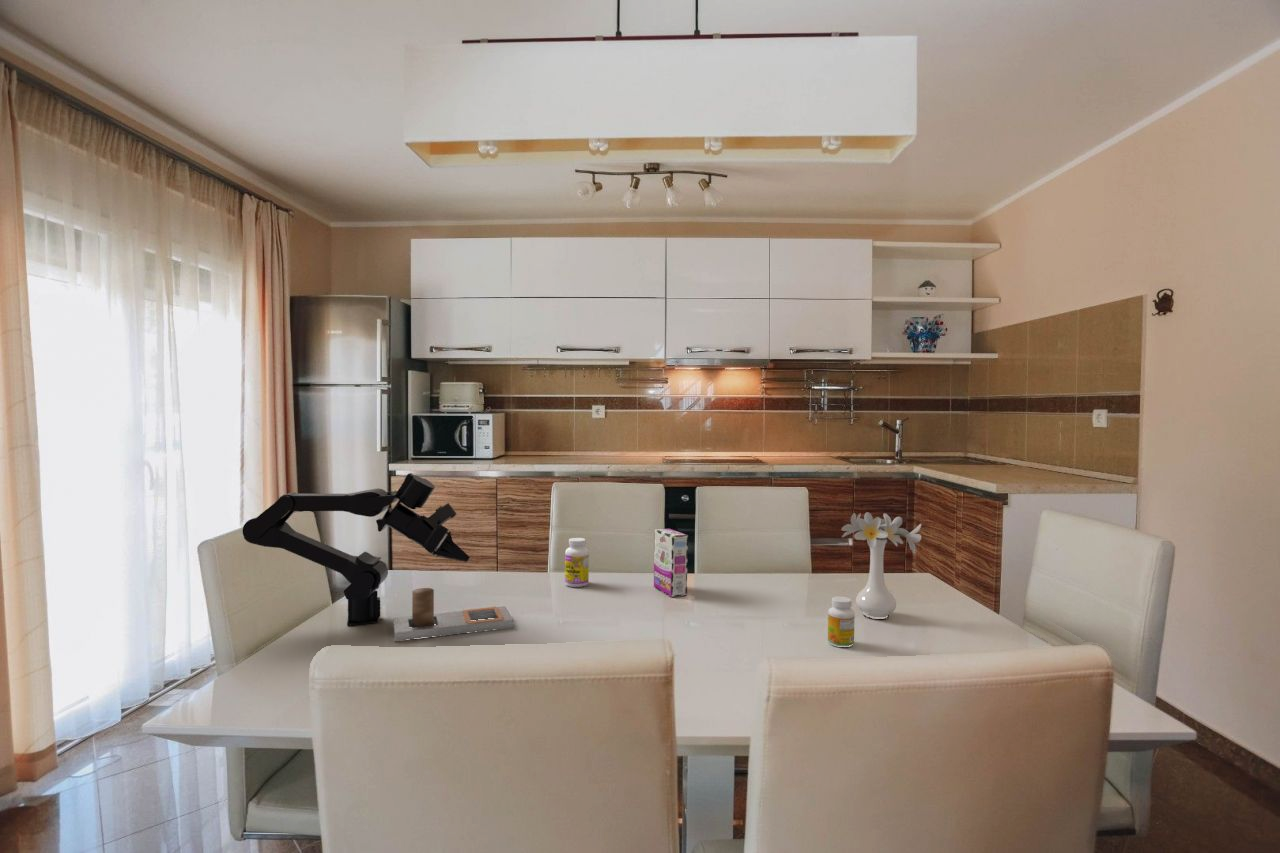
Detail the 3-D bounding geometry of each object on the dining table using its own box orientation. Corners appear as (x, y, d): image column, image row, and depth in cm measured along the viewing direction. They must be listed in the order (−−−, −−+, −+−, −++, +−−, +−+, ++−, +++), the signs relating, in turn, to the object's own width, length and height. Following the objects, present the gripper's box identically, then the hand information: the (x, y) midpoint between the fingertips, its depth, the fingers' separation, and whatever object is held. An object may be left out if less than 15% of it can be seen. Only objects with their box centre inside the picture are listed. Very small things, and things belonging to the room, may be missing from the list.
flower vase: (927, 625, 151) (930, 518, 150) (848, 624, 151) (850, 517, 150) (904, 607, 164) (906, 509, 163) (831, 606, 164) (833, 508, 163)
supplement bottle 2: (823, 639, 141) (824, 595, 140) (848, 639, 141) (848, 595, 141) (833, 648, 135) (833, 602, 135) (858, 648, 136) (859, 602, 135)
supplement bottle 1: (560, 585, 180) (560, 540, 180) (573, 580, 186) (573, 536, 185) (580, 589, 177) (580, 542, 176) (593, 583, 183) (593, 538, 182)
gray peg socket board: (394, 642, 136) (394, 631, 136) (393, 626, 146) (393, 617, 145) (513, 627, 146) (513, 618, 146) (505, 614, 155) (505, 605, 155)
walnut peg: (412, 635, 140) (412, 594, 140) (411, 628, 144) (411, 589, 144) (434, 633, 142) (434, 592, 142) (432, 626, 146) (432, 587, 146)
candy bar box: (688, 596, 172) (689, 534, 171) (671, 598, 170) (672, 536, 169) (668, 585, 182) (669, 527, 181) (652, 587, 180) (653, 528, 179)
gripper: (429, 490, 144) (489, 527, 146) (432, 499, 161) (486, 532, 163) (399, 533, 140) (461, 571, 142) (405, 538, 158) (460, 571, 159)
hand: (468, 559), depth 152 cm, fingers open, 9 cm apart
